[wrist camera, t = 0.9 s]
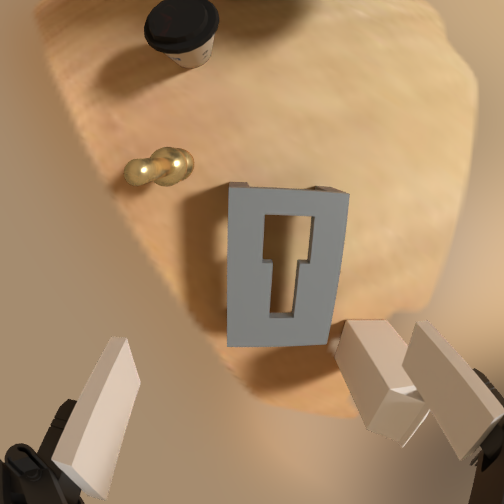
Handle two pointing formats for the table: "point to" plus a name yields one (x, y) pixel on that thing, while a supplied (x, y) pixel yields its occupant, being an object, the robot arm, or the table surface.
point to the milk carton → (380, 379)
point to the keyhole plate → (260, 270)
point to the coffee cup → (183, 30)
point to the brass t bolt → (160, 167)
